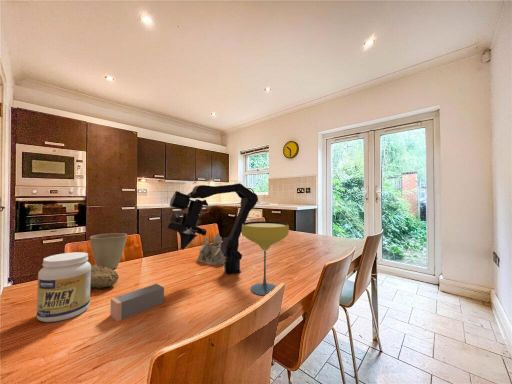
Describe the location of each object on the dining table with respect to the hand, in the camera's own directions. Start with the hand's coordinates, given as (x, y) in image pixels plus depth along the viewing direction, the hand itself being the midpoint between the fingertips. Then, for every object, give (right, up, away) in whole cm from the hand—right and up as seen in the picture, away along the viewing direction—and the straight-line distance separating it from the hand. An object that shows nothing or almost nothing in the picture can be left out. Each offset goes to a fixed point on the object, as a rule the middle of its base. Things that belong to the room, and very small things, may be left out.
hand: (182, 249), depth 92 cm
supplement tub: (-27, -13, -25) cm, 39 cm away
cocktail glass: (+34, -14, -8) cm, 38 cm away
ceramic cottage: (+7, -14, +29) cm, 33 cm away
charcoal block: (-2, -10, -17) cm, 20 cm away
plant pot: (-41, -13, +15) cm, 45 cm away
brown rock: (-32, -13, -4) cm, 35 cm away
